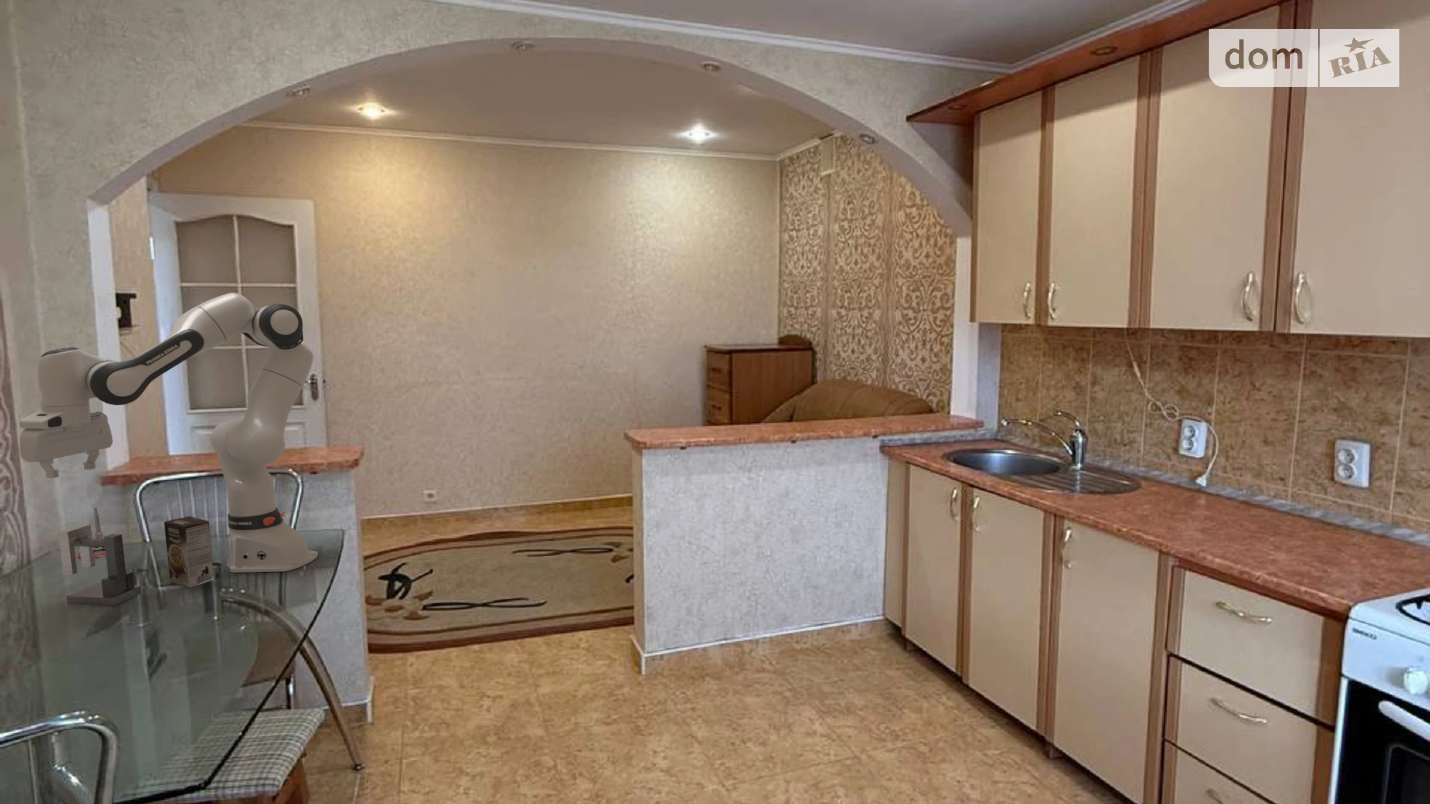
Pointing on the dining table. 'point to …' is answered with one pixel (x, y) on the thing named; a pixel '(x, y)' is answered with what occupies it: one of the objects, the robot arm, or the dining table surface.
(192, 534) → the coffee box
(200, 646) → the dining table surface
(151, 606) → the dining table surface
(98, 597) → the grey hook stand
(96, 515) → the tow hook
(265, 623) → the dining table surface
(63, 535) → the beige u-shaped piece
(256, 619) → the dining table surface
